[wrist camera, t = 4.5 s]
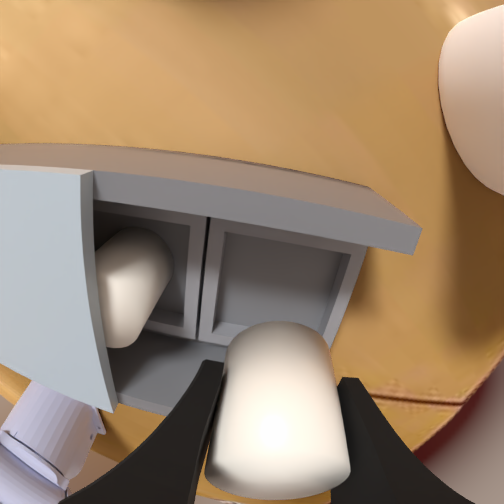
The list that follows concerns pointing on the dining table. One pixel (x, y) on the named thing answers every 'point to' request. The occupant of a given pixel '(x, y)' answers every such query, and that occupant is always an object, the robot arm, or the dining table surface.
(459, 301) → the dining table surface
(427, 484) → the robot arm
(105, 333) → the white rounded tapered block
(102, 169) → the housing
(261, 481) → the white rounded cylinder
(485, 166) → the white cylinder
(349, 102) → the dining table surface
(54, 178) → the lid
